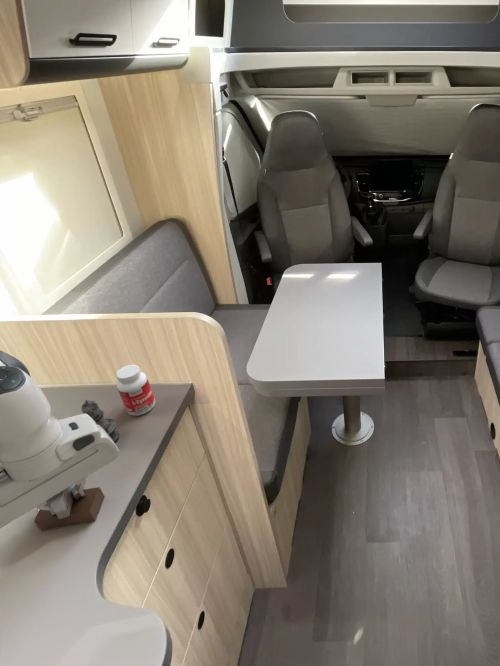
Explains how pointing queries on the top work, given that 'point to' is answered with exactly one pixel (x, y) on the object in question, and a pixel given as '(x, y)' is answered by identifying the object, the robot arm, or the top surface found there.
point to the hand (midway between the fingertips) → (68, 502)
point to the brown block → (73, 511)
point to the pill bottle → (135, 390)
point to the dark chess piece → (100, 419)
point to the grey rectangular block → (62, 503)
